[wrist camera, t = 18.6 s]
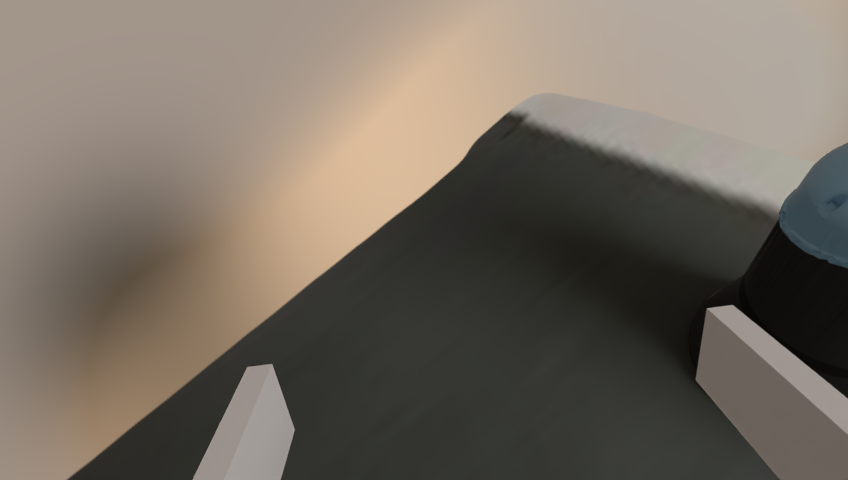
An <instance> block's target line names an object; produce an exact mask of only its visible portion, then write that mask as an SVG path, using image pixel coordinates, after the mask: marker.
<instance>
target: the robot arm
mask: <svg viewBox="0 0 848 480" xmlns="http://www.w3.org/2000/svg"><path fill="white" fill-rule="evenodd" d="M779 214H780V218H779V220H778V221H777V223H776V224H775V226H774V228H773V229H772V231H771V232H770V234H769V235H768V237H767V239H766V240H765V242H764V243H763V245H762V247H761V248H760V250H759V251H758V253H757V255H756V256H755V258H754V259H753V261H752V263H751V264H750V266H749V268H748V269H747V271H746V273H745V274H744V275H743V276H741V277H740V278H738V279H737V280H735V281H733V282H732V283H730V284H728V285H726V286H724V287H722V288H720V289H718V290H717V291H715V292H714V293H712V294H711V295H710V296H709V297H708V298H707V299H706V300H705V301H704V302H703V304H702V305H701V307H700V308H699V310H698V312H697V314H696V316H695V318H694V320H693V322H692V324H691V327H690V332H689V347H690V353H691V357H692V360H693V362H694V365H695V367H696V369H697V374H696V381H697V382H698V384H699V385H700V386H701V387H702V388H703V389H704V391H705V392H706V393H707V394H708V395H709V397H710V398H711V399H712V400H713V401H714V402H715V404H716V405H717V406H718V407H719V408H720V410H721V411H722V412H723V413H724V414H725V415H726V417H727V418H728V419H729V420H730V421H731V423H732V424H733V425H734V426H735V427H736V428H737V430H738V431H739V432H740V433H741V434H742V435H743V437H744V438H745V439H746V440H747V441H748V443H749V444H750V445H751V446H752V447H753V448H754V450H755V451H756V452H757V453H758V454H759V456H760V457H761V458H762V459H763V460H764V461H765V463H766V464H767V465H768V466H769V467H770V469H771V470H772V471H773V472H774V473H775V474H776V476H777V477H778V478H779V479H780V480H848V143H846V144H844V145H842V146H840V147H838V148H836V149H834V150H832V151H831V152H829V153H828V154H826V155H825V156H824V157H822V158H821V159H820V160H819V161H818V162H817V163H816V164H815V165H814V166H813V167H812V168H811V169H810V171H809V172H808V174H807V175H806V176H805V178H804V179H803V181H802V182H801V183H800V185H799V186H798V188H797V189H795V190H794V191H793V192H792V193H791V194H790V195H789V196H788V197H787V198H786V200H785V201H784V203H783V205H782V207H781V209H780V212H779ZM294 431H295V429H294V426H293V424H292V421H291V418H290V415H289V412H288V409H287V406H286V403H285V400H284V397H283V394H282V391H281V388H280V386H279V383H278V380H277V377H276V374H275V371H274V368H273V365H272V364H269V365H261V366H253V367H247V369H246V371H245V373H244V375H243V377H242V379H241V381H240V383H239V385H238V387H237V389H236V392H235V394H234V396H233V398H232V400H231V402H230V404H229V406H228V408H227V410H226V412H225V414H224V416H223V418H222V420H221V422H220V424H219V426H218V429H217V431H216V433H215V435H214V437H213V439H212V441H211V443H210V445H209V447H208V449H207V451H206V453H205V455H204V457H203V459H202V461H201V463H200V466H199V468H198V470H197V472H196V474H195V476H194V478H193V480H281V476H282V473H283V469H284V466H285V462H286V459H287V455H288V452H289V448H290V445H291V441H292V438H293V434H294Z"/></svg>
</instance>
